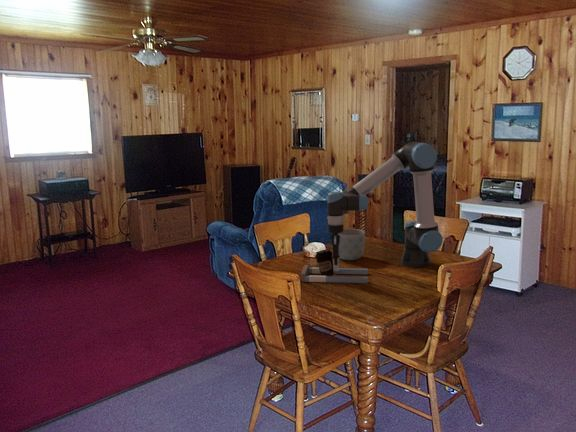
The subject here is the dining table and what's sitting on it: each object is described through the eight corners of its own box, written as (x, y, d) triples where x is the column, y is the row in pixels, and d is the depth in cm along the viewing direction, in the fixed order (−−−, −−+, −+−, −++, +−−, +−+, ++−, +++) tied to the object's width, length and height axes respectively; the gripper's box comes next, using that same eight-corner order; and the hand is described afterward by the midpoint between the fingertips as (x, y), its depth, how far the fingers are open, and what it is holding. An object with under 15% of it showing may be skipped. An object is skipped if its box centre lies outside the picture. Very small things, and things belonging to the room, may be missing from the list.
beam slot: (367, 273, 264) (367, 265, 264) (367, 283, 250) (367, 274, 249) (304, 272, 269) (304, 264, 268) (300, 281, 255) (300, 273, 254)
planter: (357, 264, 281) (357, 236, 278) (329, 260, 290) (328, 233, 287) (370, 256, 295) (370, 230, 292) (342, 253, 304) (342, 227, 301)
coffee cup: (335, 277, 255) (330, 251, 253) (319, 280, 256) (313, 254, 255) (336, 272, 263) (331, 247, 262) (320, 275, 265) (315, 250, 263)
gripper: (328, 221, 261) (329, 266, 266) (326, 226, 248) (327, 274, 253) (343, 221, 260) (344, 267, 264) (342, 226, 247) (343, 274, 252)
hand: (336, 270), depth 259 cm, fingers closed
